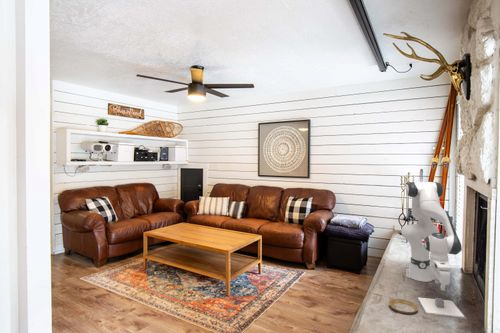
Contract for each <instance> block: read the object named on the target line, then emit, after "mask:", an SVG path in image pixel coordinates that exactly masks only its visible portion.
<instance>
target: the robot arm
mask: <svg viewBox="0 0 500 333" xmlns="http://www.w3.org/2000/svg"><path fill="white" fill-rule="evenodd" d="M405 193H406V195H407V196H408V197H410V198H412V199H411V216H412V217H413V218H414V219H417V222H418V223H411V224H406V225H403V226H402V227H401V229H400V230H401V231H400V233H401V235H402V237H403V239H405V240H407V242H408V243H409V245H410V250H411V251H410V252H411V253H410V254H411V257H410V262H409V263H408V265H406V268H405V277H406V278H409V279H412V280H415V281H418V282H423V283H426V282H427V283H428V282H432V281H434V282H435V284H438V285H439V284H440V290H441V291H446V286H449V285H450V283H451V271H452V267H451V265H450V261H449V255H458V254H460V252H462V249H463V248H462V243H461V241H460V238H459V237H458V235H457V232H456V229H455V226H454V223H453V222H452V219H451V216H450V214H449V213H448V211H446V210H445V209H444V208H443V207H442V205H441V202H440V197H442V196H443V194H444V186H443V185H442V183H441V182H436V181H433V182H432V181H415V182H414V181H411V182H408V183H407V185H406V186H405ZM432 219H434V220H436V221H437V222H438V221H439V222H440V223H442V225H443V226H444V229H445V231H446V235H445V234H444V233H440V229H439V227H438V226H437V225H436V224H434V223H433V221H432ZM423 241H424V243H423ZM448 254H449V255H448Z"/></svg>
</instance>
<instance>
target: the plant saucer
mask: <svg viewBox="0 0 500 333" xmlns="http://www.w3.org/2000/svg"><path fill="white" fill-rule="evenodd" d="M388 304H389V306H390V307H391V308H392V310H393V311H395V312H398V313H400V314H404V315H405V314H406V315H411V314H415V313H416V312H417V311H418V310H419V308H418V306H417V304H416V303H414V302H412V301H409V300H407V299H403V298H402V299H401V298H394V299H391V300H389V302H388ZM396 304H403V305H407V306H410V307H411V308H412V309H413V310H414V311H404V310H400V309H397V308H396Z"/></svg>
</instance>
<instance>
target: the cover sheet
mask: <svg viewBox="0 0 500 333" xmlns="http://www.w3.org/2000/svg"><path fill="white" fill-rule="evenodd" d="M417 298H418V300H419V301H420V303H421V305H422V307H423V308H424V310H425V312H426V313H427V314H426V315H428V314H436V315H445V316H453V317H462V318H464V315H465V314H464V313H463V312H462V311H461V312H462V313H463V314H464V315H463V314H462V313H461V312H460V310H461V309H460V308H459V307H458V306H457V307H458V308H459V309H460V310H459V309H458V308H457V307H456V305H457V304H456V303H455V302H454V301H453V300H447V299H443V298H441V297H434V298H430V297H429V298H428V297H417ZM452 301H453V302H454V303H455V304H456V305H455V304H454V303H453V302H452ZM436 315H435V316H436ZM445 316H444V317H445ZM453 317H452V318H453ZM462 318H461V319H462Z"/></svg>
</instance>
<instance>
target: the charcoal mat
mask: <svg viewBox="0 0 500 333" xmlns="http://www.w3.org/2000/svg"><path fill="white" fill-rule="evenodd" d="M415 299H416V300H417V303H418V304H419V306H420V308H421V310H422V311H423V314H424V315H428V316H429V315H430V316H436V317H437V316H438V317H445V318H446V317H447V318H456V319H461V320H462V319H464V320H468V318H467V316H465V313H463V311H462V310H461V309H460V308H459V306H457V304H456V303H455V302H454V301H453V300H451V301H452V302H453V303H454V304H455V305H456V307H457V308H458V309H459V310H460V312H461V313H462V314H463V315H464V318H462V317H453V316H445V315H436V314H427V313H426V312H425V310H424V308H423V307H422V305H421V303H420V301H419V300H418V297H416V296H415Z"/></svg>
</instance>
